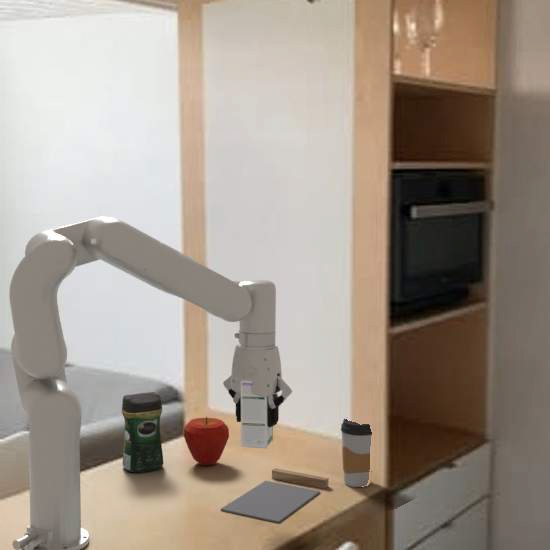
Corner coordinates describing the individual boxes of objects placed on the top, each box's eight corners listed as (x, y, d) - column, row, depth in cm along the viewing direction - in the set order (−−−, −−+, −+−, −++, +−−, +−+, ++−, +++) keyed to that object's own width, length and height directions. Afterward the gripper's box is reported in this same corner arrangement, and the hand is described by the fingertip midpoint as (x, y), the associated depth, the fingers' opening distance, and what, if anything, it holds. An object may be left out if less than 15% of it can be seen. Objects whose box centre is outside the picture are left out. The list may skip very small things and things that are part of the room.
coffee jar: (155, 460, 221) (155, 387, 218) (167, 469, 214) (166, 395, 212) (118, 465, 216) (117, 392, 214) (128, 475, 209) (128, 399, 207)
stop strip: (325, 488, 202) (325, 480, 202) (271, 478, 208) (271, 470, 208) (328, 486, 203) (328, 478, 203) (274, 476, 210) (275, 468, 209)
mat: (278, 523, 182) (278, 521, 182) (220, 510, 188) (220, 508, 188) (319, 492, 199) (320, 491, 199) (265, 482, 206) (265, 480, 206)
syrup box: (267, 449, 182) (268, 380, 181) (239, 447, 184) (240, 379, 182) (273, 441, 188) (273, 374, 186) (246, 439, 189) (246, 373, 188)
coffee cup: (382, 485, 204) (384, 422, 202) (353, 492, 200) (355, 427, 198) (360, 475, 211) (362, 414, 210) (332, 481, 207) (333, 418, 205)
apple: (174, 464, 218) (174, 416, 216) (206, 454, 226) (206, 408, 224) (206, 474, 210) (206, 425, 209) (237, 463, 218) (237, 416, 217)
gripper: (212, 338, 184) (212, 421, 186) (286, 346, 176) (285, 433, 178) (230, 332, 191) (230, 413, 193) (302, 340, 182) (301, 424, 184)
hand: (256, 422), depth 185 cm, fingers closed on syrup box, 6 cm apart
